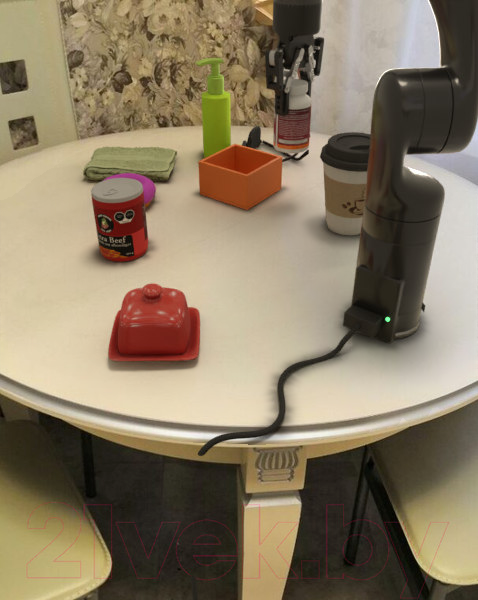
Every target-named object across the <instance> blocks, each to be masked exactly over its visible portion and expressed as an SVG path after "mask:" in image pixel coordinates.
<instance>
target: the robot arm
mask: <svg viewBox="0 0 478 600" xmlns="http://www.w3.org/2000/svg"><path fill="white" fill-rule="evenodd" d="M427 1H428V4H429V6H430V8H431V11H432V14H433V17H434V20H435V24H436V29H437V34H438V44H439V67H437V66H436V67H397V68H390V69H387V70H385V71H384V72H383V73H382V74H381V75H380V76H379V79H378V80H377V83H376V85H375V89H374V93H373V98H372V105H371V106H372V107H371V115H370V116H371V117H370V133H369V134H370V147H369V158H368V166H367V181H366V195H365V203H364V210H363V218H362V225H361V233H360V234H359V240H358V241H359V242H358V250H357V256H356V263H355V264H356V265H355V273H354V281H353V288H352V297H351V304H350V306H349V307H348V308H347V309H346V310H345V312H344V316H343V322H342V327H344V328H347V329H350V330H348V332H347V333H346V334H345V335H344V336H343V338H341V340H340V341H339V342H338V344H337V345H336V346H335V348H334V349H332V351H330V352H328V353H326V354H324V355H321V356H318V357H315V358H310V359H305V360H301V361H298V362H295V363H293V364H291V365H290V366H287V368H285V370H283V371H282V372H281V374H280V375H279V378H278V381H277V399H278V405H279V406H278V407H279V408H278V414H277V417H276V419H275V420H274V421H273V422H272V424H270V425H269V426H267V427H264V428H262V429H258V430H249V431H246V430H245V431H234V432H227V433H223V434H222V433H221V434H219V435H217V436H215V437H213V438H211V439H210V440H208V441H207V442H205V444H204V445H203V446H201V448H200V449H199V450H198V452H197V455H198V456H199V457H203V456H205V455H206V454H207V453H208V451H209V450H211V449H212V448H213V447H214V446H216V445H218V444H219V443H220V444H221V443H223V442H225V441H226V442H227V441H230V440H241V439H255V438H261V437H264V436H268V435H269V434H271V433H273V432H275V431H276V430H277V429H278V428H279V427H280V426H281V425H282V423H283V422H284V419H285V415H286V408H287V407H286V398H285V391H284V390H285V389H284V387H285V386H284V385H285V382H286V379H287V377H288V376H289V375H290V374H291V373H293V372H294V371H296V370H298V369H300V368H304V367H307V366H312V365H315V364H318V363H323V362H326V361H329V360H330V359H332V358H334V357H335V356H337V355H338V354H340V352H342V350H343V348H344V347H345V345H346V344H347V343H348V342H349V341H350V339H351V338H352V337H353V336H354V335H355V334H356V333H360V334H362V335H364V336H367V337H368V338H372V339H373V338H377V339H378V340H381V341H384V342H386V343H389V344H390V343H392V342H393V341H394V340H397V339H402V338H406V337H409V336H411V335H412V334H414V333H415V332H416V331H417V330H418V328H419V326H420V322H421V313H422V312H423V313H425V310H426V305H425V303H424V299H425V293H426V288H427V284H428V279H429V275H430V269H431V265H432V259H433V255H434V251H435V245H436V240H437V235H438V231H439V227H440V221H441V217H442V212H443V207H444V203H445V199H446V190H445V188H444V185H443V184H442V183H441V182H440V180H438V179H437V178H436V177H434V176H432V175H430V174H428V173H426V172H423V171H420V170H417V169H414V168H412V167H409V166H408V165H406V164H404V163H405V162H404V161H405V157H406V156H411V155H412V156H413V155H415V156H417V155H442V154H443V155H445V154H457V153H460V152H462V151H464V150H465V149H466V148H468V146H469V145H470V143H471V142H472V140H473V137H474V135H475V133H476V129H477V124H478V0H427ZM272 3H273V4H272V31H273V32H274V33H275V34H277V36H278V41H277V45H276V48H275V49H266V50H265V53H264V62H265V65H264V67H265V86H266V89H267V90H271V91H274V101H275V113H276V114H277V115H282V116H286V115H288V113H289V89H290V86H291V82H292V79H296V77H297V79H301V80H305V81H307V82H308V91H307V93H306V95H308V96H309V97H310V98H311V99H312V85H313V84H312V83H314V81H315V79H316V77H319V76H320V75H321V72H322V71H321V70H322V63H323V53H324V47H325V38H324V37H322V36H316V35H318V34H319V33H321V31H322V22H323V7H324V0H272ZM284 78H285V79H286V80H285V79H284ZM283 80H285V83H284V84H283ZM189 576H190V588H191V597H192V600H199V592H198V582H197V577H196V576H194V575H193V573H189Z"/></svg>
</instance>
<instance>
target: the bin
mask: <svg viewBox="0 0 478 600" xmlns="http://www.w3.org/2000/svg"><path fill="white" fill-rule="evenodd" d="M282 159H284V158H283V155H278V154H276V153H275V154H274V153H272V152H267V151H264V150H260V149H257V148H255V149H253V148H249V147H246V146H242V144H238V143H233V144H231V146H229V147H227V148H225V149H223V150H221V151H219V152H217V153H215V154H213V155H211V156H209V157H207V158H205V157H203V159H201V160H199V161H198V162H197V163H198V184H199V185H198V187H199V195H201V196H204V197H207V198H209V199H212V200H216V201H219V202H222V203H225V204H227V205H231V206H233V207H237V208H239V209H242V210H244V211H245V210H246V211H249V210H251V208H253V207H255V206H256V205H259V203H261V202H263V201H264V200H266V199H267V198H269V197H270V196H272V195H275V193H277V192H279V191H281V190H282V181H283V180H282V179H283V162H282Z"/></svg>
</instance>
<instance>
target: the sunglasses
mask: <svg viewBox="0 0 478 600" xmlns="http://www.w3.org/2000/svg"><path fill="white" fill-rule="evenodd" d="M261 136H262V128H261V126H260V125H256V126H253V127H252V129H251V130H250V131H249V133H248V136H247V140H243V141H242V143H241V145H242V146H246V147H249V148H253V149H257V148H258V147H259V146H260V145H261V144H263V145H265V146H267V147H269V148H271V149H273V150H275V151H277V152H278V153H280V154H282V155H284V156H286V157H285V158H283V159H282V163H285V162H287V161H290V160H293V161H295V162H299V161H301V160H303V159H304V158H306V157H307V156H308V155H309V154H310V149H309V148H308V149H307V150H306V151H304V152H302V154H301V155H300V156H299V157H297V155H299V153H293V154H291V153H284V152H280V151H278V150H276V149H275V148H274V145H273V144H272V143H270V142H268V141H267V140H264V139H263V140H262V139H261Z"/></svg>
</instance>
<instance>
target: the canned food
mask: <svg viewBox="0 0 478 600" xmlns="http://www.w3.org/2000/svg"><path fill="white" fill-rule="evenodd" d="M90 192H91V194H90V195H91V204H92V209H93V216H94V222H95V229H96V237H97V241H98V248H99V251H100V253H101V255H102V257H103V258H104V259H106V260H108V261H111V262H119V263H120V262H121V263H122V262H129V261H133V260H137V259H139V258H140V257H141V258H142V257H143V255H145V254H146V253H147V251H148V247H149V234H148V233H149V232H148V225H147V224H148V223H147V222H148V221H147V213H146V208H145V201H144V192H143V186H142V184H141V183H140V182H139V181H137V180H135V179H130V178H113V179H108V180H105V181H103V180H102V181H99V182H97V183H95V184H94V185H93V186H92V187H91V190H90Z"/></svg>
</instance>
